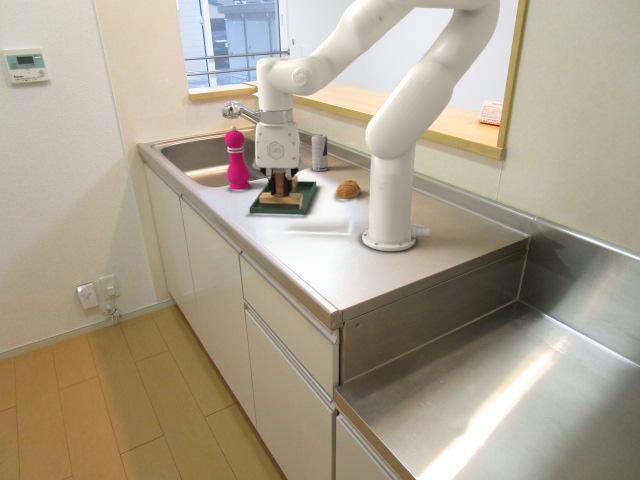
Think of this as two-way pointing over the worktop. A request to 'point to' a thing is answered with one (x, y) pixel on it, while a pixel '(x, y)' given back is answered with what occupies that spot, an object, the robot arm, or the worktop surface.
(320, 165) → the energy drink
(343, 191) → the pastry
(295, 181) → the wooden cube
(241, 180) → the pepper mill
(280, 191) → the brush
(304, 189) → the tray
